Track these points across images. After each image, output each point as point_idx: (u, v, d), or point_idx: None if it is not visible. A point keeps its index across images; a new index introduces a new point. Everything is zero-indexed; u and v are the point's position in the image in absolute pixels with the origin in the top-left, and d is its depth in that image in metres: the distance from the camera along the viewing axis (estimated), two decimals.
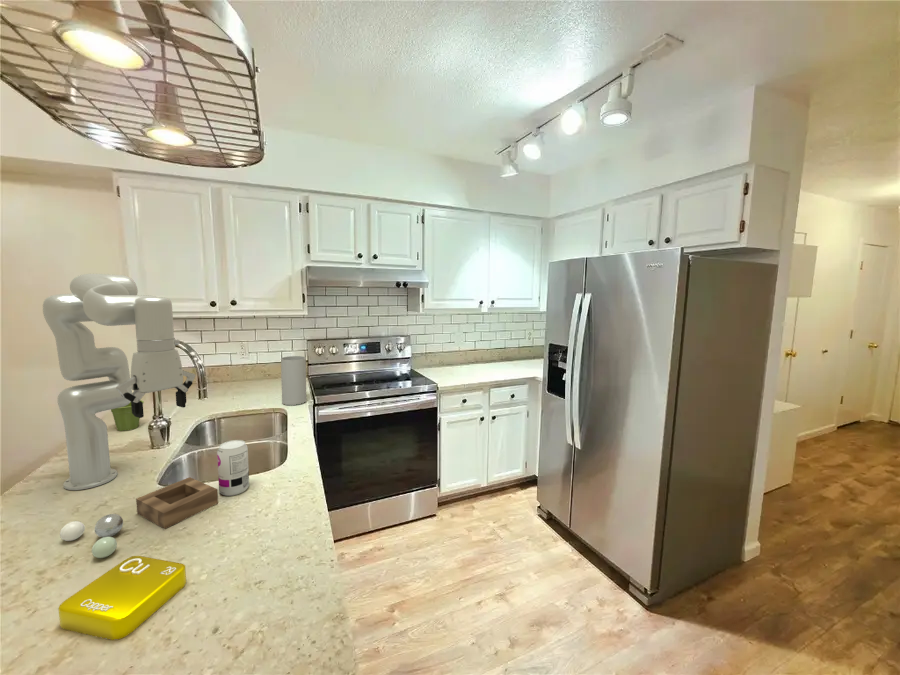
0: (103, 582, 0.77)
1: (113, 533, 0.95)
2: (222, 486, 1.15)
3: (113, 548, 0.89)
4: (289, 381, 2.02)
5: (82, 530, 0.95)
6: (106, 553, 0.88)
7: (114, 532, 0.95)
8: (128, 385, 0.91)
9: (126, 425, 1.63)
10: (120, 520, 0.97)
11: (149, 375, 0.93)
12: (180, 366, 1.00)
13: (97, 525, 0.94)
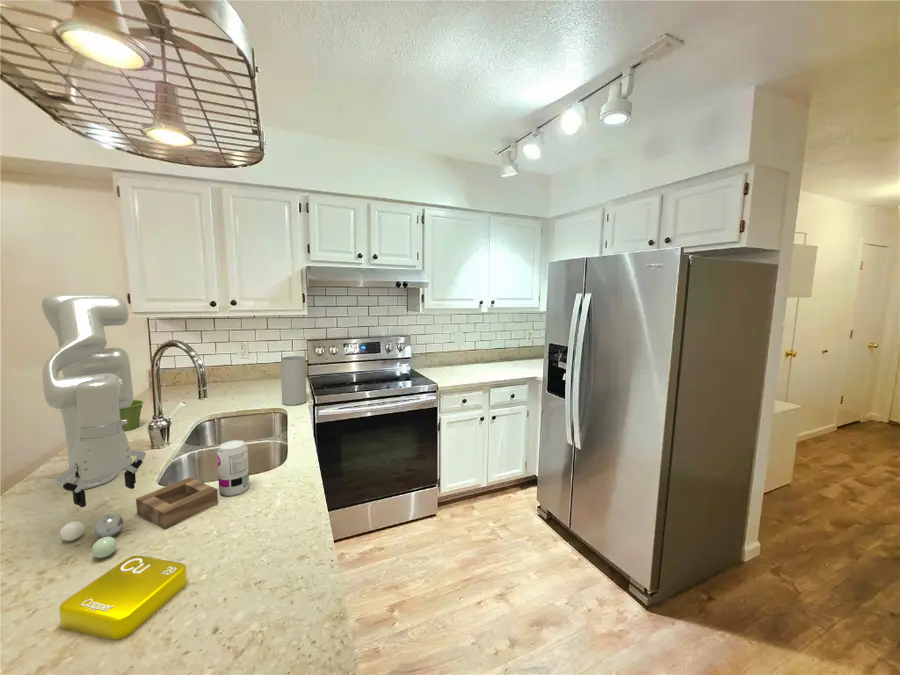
0: (104, 581, 0.77)
1: (113, 533, 0.95)
2: (222, 486, 1.15)
3: (113, 548, 0.89)
4: (289, 381, 2.02)
5: (82, 530, 0.95)
6: (106, 553, 0.88)
7: (114, 532, 0.95)
8: (68, 475, 0.88)
9: (126, 425, 1.63)
10: (120, 520, 0.97)
11: (91, 462, 0.90)
12: (127, 447, 0.96)
13: (97, 525, 0.94)
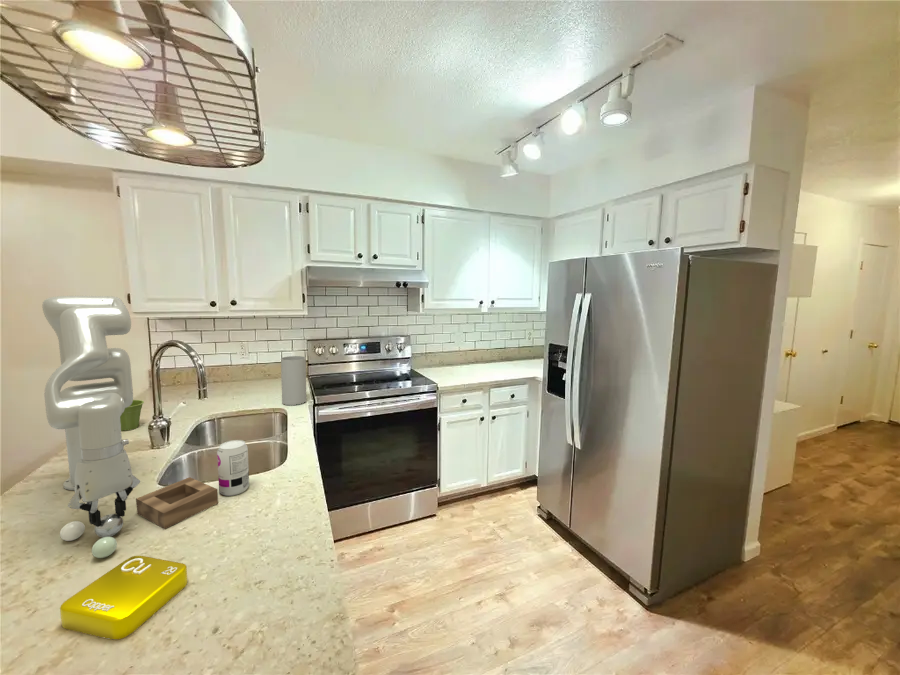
0: (104, 581, 0.77)
1: (113, 533, 0.95)
2: (222, 486, 1.15)
3: (113, 548, 0.89)
4: (289, 381, 2.02)
5: (82, 530, 0.95)
6: (106, 553, 0.88)
7: (114, 532, 0.95)
8: (78, 499, 0.90)
9: (126, 425, 1.63)
10: (120, 520, 0.97)
11: (93, 484, 0.91)
12: (129, 467, 0.97)
13: None
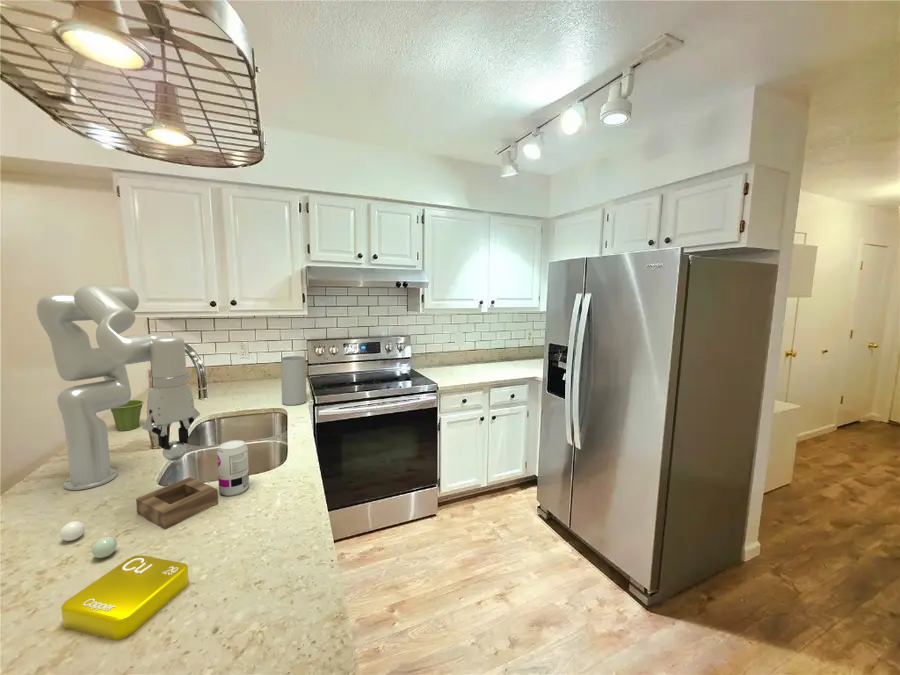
0: (106, 581, 0.77)
1: (179, 457, 1.05)
2: (222, 486, 1.15)
3: (113, 548, 0.89)
4: (289, 381, 2.02)
5: (82, 530, 0.95)
6: (106, 553, 0.88)
7: (180, 456, 1.06)
8: (151, 422, 1.00)
9: (126, 425, 1.63)
10: (184, 446, 1.07)
11: (164, 409, 1.01)
12: (192, 399, 1.08)
13: None
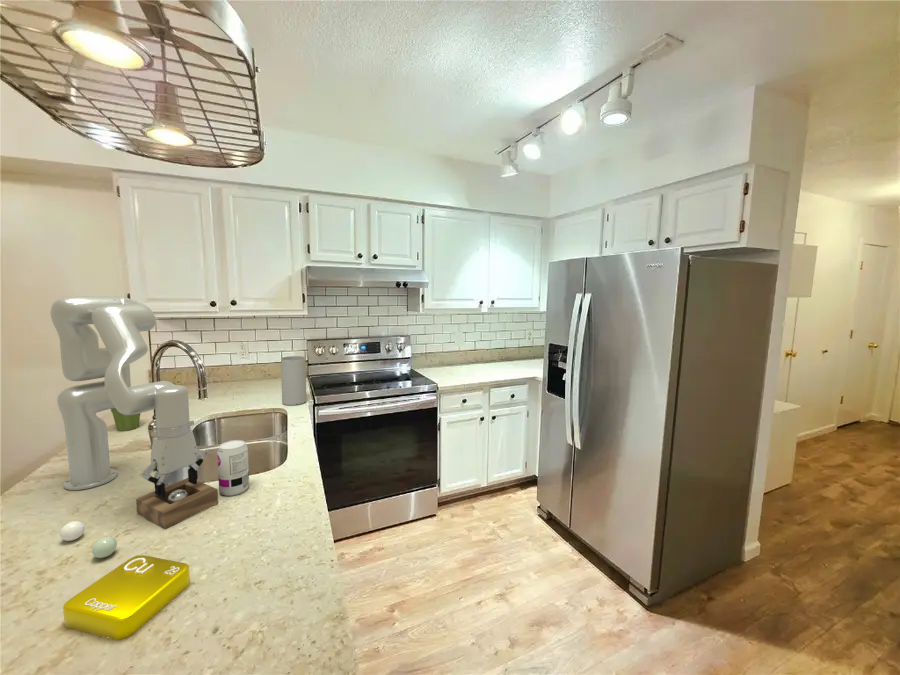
0: (107, 581, 0.77)
1: None
2: (222, 486, 1.15)
3: (113, 548, 0.89)
4: (289, 381, 2.02)
5: (82, 530, 0.95)
6: (106, 553, 0.88)
7: None
8: (150, 470, 1.01)
9: (126, 425, 1.63)
10: (187, 495, 1.09)
11: (167, 458, 1.03)
12: (195, 445, 1.09)
13: (169, 499, 1.06)
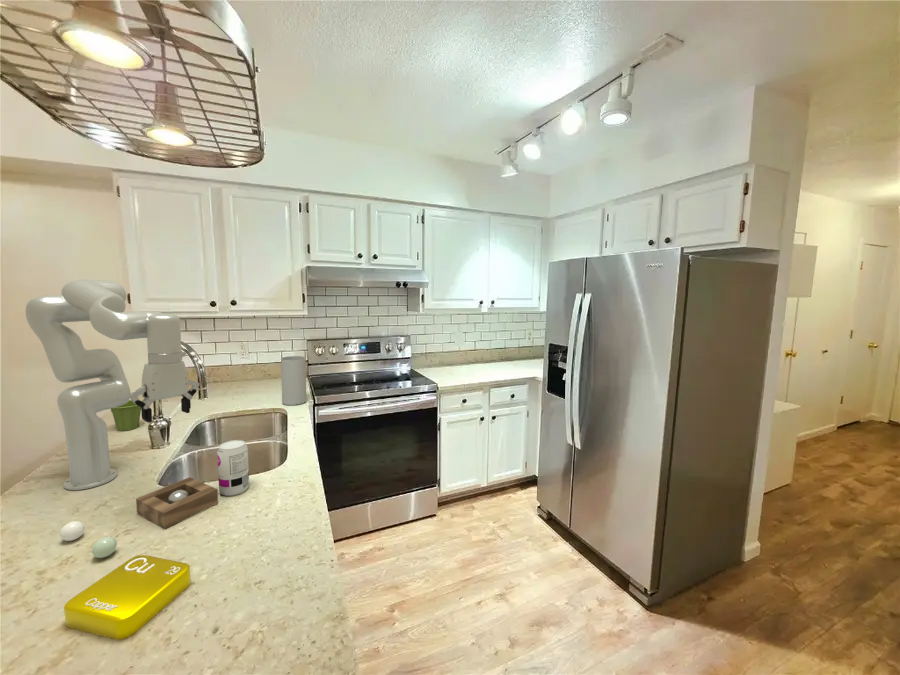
0: (108, 581, 0.77)
1: None
2: (222, 486, 1.15)
3: (113, 548, 0.89)
4: (289, 381, 2.02)
5: (82, 530, 0.95)
6: (106, 553, 0.88)
7: None
8: (139, 393, 1.02)
9: (126, 425, 1.63)
10: None
11: (158, 384, 1.04)
12: (186, 376, 1.10)
13: (169, 499, 1.06)
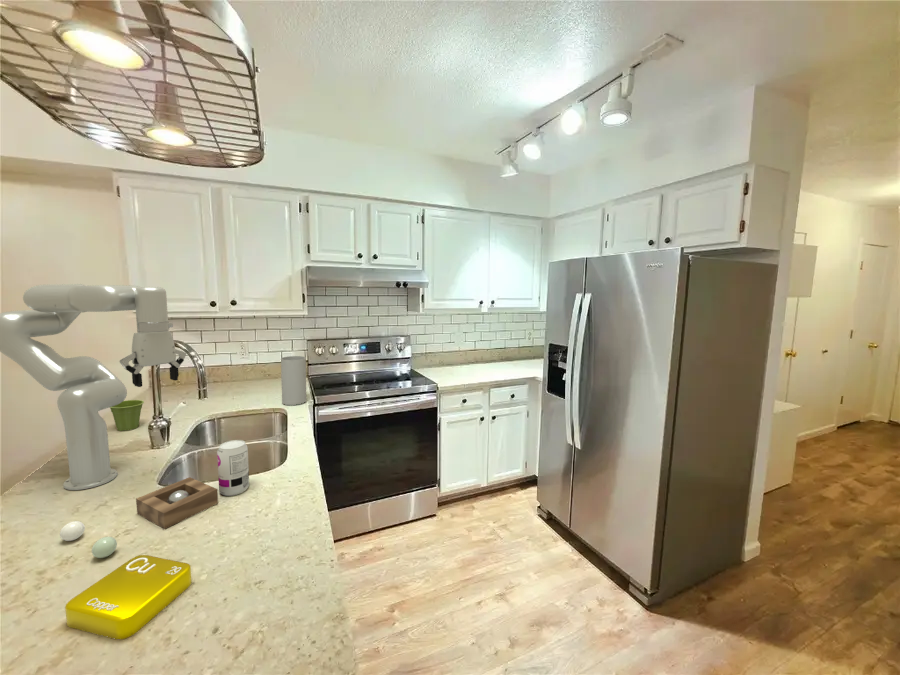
0: (109, 581, 0.77)
1: None
2: (222, 486, 1.15)
3: (113, 548, 0.89)
4: (289, 381, 2.02)
5: (82, 530, 0.95)
6: (106, 553, 0.88)
7: None
8: (129, 359, 1.10)
9: (126, 425, 1.63)
10: None
11: (147, 351, 1.12)
12: (173, 345, 1.19)
13: (170, 500, 1.06)
